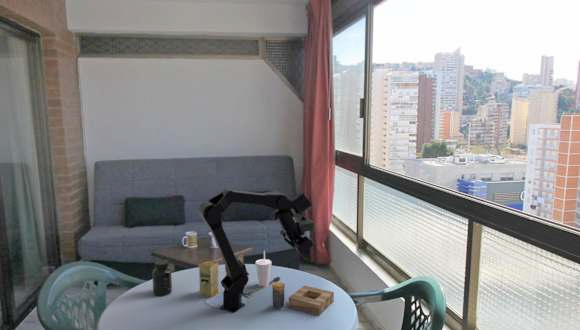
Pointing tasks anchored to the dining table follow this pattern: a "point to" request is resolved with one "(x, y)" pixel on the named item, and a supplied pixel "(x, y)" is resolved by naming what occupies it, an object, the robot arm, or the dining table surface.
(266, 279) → the smoothie
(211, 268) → the shoe polish box
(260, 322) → the dining table surface
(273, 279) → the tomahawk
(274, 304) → the orange and grey peg
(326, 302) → the block
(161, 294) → the supplement bottle
